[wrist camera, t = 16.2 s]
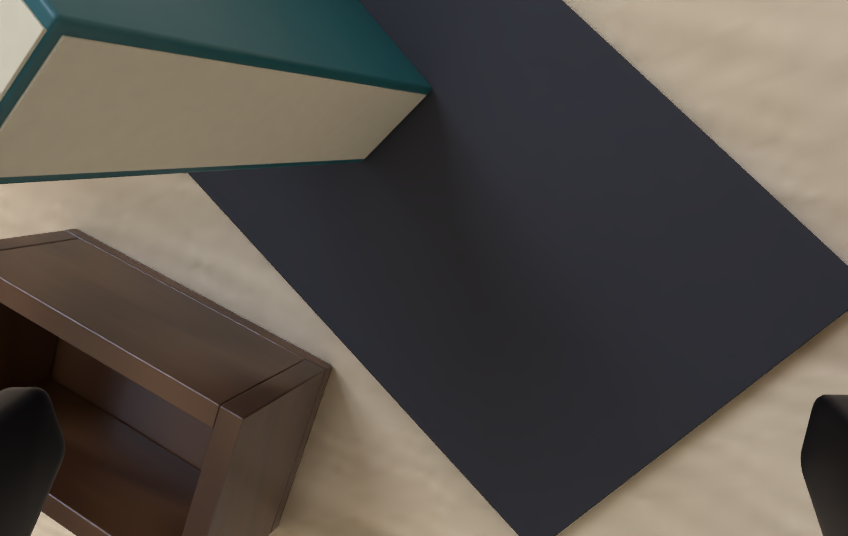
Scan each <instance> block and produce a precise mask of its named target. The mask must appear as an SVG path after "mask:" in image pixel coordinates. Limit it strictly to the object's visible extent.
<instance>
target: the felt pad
mask: <svg viewBox="0 0 848 536" xmlns="http://www.w3.org/2000/svg"><path fill="white" fill-rule="evenodd" d="M359 2H360V3H361V4H362V5H363V6H364V7H365V9H366V10H367V11H368V12H369V13H370V15H371V16H372V17H373V18H374V19H375V20H376V22H377V23H378V24H379V25H380V26H381V28H382V29H383V30H384V31H385V32H386V34H387V35H388V36H389V37H390V38H391V39H392V41H393V42H394V43H395V44H396V45H397V47H398V48H399V49H400V50H401V51H402V52H403V54H404V55H405V56H406V57H407V58H408V60H409V61H410V62H411V63H412V64H413V66H414V67H415V68H416V69H417V70H418V71H419V73H420V74H421V75H422V76H423V77H424V79H425V80H426V81H427V82H428V83H429V84H430V86H431V88H432V90H431V91H430V92H429V93H428V94H427V95H426V96H425V97H424V98H423V100H422V101H421V102H420V103H419V104H418V105H417V106H416V107H415V108H414V109H413V110H412V111H411V112H410V113H409V114H408V115H407V116H406V117H405V118H404V119H403V120H402V121H401V122H400V123H399V124H398V125H397V126H396V127H395V128H394V129H393V130H392V131H391V132H390V133H389V134H388V135H387V136H386V137H385V138H384V139H383V140H382V142H381V143H380V144H379V145H378V146H377V147H376V148H375V149H374V150H373V151H372V152H371V153H370V154H369V155H368V156H367V157H366V158H365V159H364V160H363V161H362V162H355V163H339V164H322V165H306V166H289V167H273V168H256V169H240V170H223V171H207V172H190V173H189V175H190V176H191V177H192V178H193V179H194V180H195V181H196V182H197V183H198V184H199V186H200V187H201V188H202V189H203V190H204V191H205V192H206V193H207V194H208V195H209V196H210V198H211V199H212V200H213V201H214V202H215V203H216V204H217V205H218V206H219V207H220V209H221V210H222V211H223V212H224V213H225V214H226V215H227V216H228V217H229V218H230V220H231V221H232V222H233V223H234V224H235V225H236V226H237V227H238V228H239V229H240V230H241V232H242V233H243V234H244V235H245V236H246V237H247V238H248V239H249V240H250V241H251V243H252V244H253V245H254V246H255V247H256V248H257V249H258V250H259V251H260V252H261V254H262V255H263V256H264V257H265V258H266V259H267V260H268V261H269V262H270V263H271V264H272V266H273V267H274V268H275V269H276V270H277V271H278V272H279V273H280V274H281V275H282V277H283V278H284V279H285V280H286V281H287V282H288V283H289V284H290V285H291V286H292V287H293V289H294V290H295V291H296V292H297V293H298V294H299V295H300V296H301V297H302V298H303V300H304V301H305V302H306V303H307V304H308V305H309V306H310V307H311V308H312V309H313V311H314V312H315V313H316V314H317V315H318V316H319V317H320V318H321V319H322V320H323V321H324V323H325V324H326V325H327V326H328V327H329V328H330V329H331V330H332V331H333V332H334V334H335V335H336V336H337V337H338V338H339V339H340V340H341V341H342V342H343V343H344V344H345V346H346V347H347V348H348V349H349V350H350V351H351V352H352V353H353V354H354V355H355V357H356V358H357V359H358V360H359V361H360V362H361V363H362V364H363V365H364V366H365V368H366V369H367V370H368V371H369V372H370V373H371V374H372V375H373V376H374V377H375V378H376V380H377V381H378V382H379V383H380V384H381V385H382V386H383V387H384V388H385V389H386V391H387V392H388V393H389V394H390V395H391V396H392V397H393V398H394V399H395V400H396V401H397V403H398V404H399V405H400V406H401V407H402V408H403V409H404V410H405V411H406V412H407V414H408V415H409V416H410V417H411V418H412V419H413V420H414V421H415V422H416V423H417V425H418V426H419V427H420V428H421V429H422V430H423V431H424V432H425V433H426V434H427V435H428V437H429V438H430V439H431V440H432V441H433V442H434V443H435V444H436V445H437V446H438V448H439V449H440V450H441V451H442V452H443V453H444V454H445V455H446V456H447V457H448V458H449V460H450V461H451V462H452V463H453V464H454V465H455V466H456V467H457V468H458V469H459V471H460V472H461V473H462V474H463V475H464V476H465V477H466V478H467V479H468V480H469V482H470V483H471V484H472V485H473V486H474V487H475V488H476V489H477V490H478V491H479V492H480V494H481V495H482V496H483V497H484V498H485V499H486V500H487V501H488V502H489V503H490V505H491V506H492V507H493V508H494V509H495V510H496V511H497V512H498V513H499V514H500V515H501V517H502V518H503V519H504V520H505V521H506V522H507V523H508V524H509V525H510V526H511V528H512V529H513V530H514V531H515V532H516V533H517V534H518V535H519V536H556V535H557V534H558V533H560V532H561V531H562V530H563V529H565V528H566V527H567V526H569V525H570V524H571V523H573V522H574V521H575V520H576V519H578V518H579V517H580V516H582V515H583V514H584V513H586V512H587V511H588V510H589V509H591V508H592V507H593V506H595V505H596V504H597V503H598V502H600V501H601V500H602V499H604V498H605V497H606V496H608V495H609V494H610V493H611V492H613V491H614V490H615V489H617V488H618V487H619V486H621V485H622V484H623V483H624V482H626V481H627V480H628V479H630V478H631V477H632V476H633V475H635V474H636V473H637V472H639V471H640V470H641V469H643V468H644V467H645V466H646V465H648V464H649V463H650V462H652V461H653V460H654V459H656V458H657V457H658V456H659V455H661V454H662V453H663V452H665V451H666V450H667V449H669V448H670V447H671V446H672V445H674V444H675V443H676V442H678V441H679V440H680V439H681V438H683V437H684V436H685V435H687V434H688V433H689V432H691V431H692V430H693V429H694V428H696V427H697V426H698V425H700V424H701V423H702V422H704V421H705V420H706V419H707V418H709V417H710V416H711V415H713V414H714V413H715V412H716V411H718V410H719V409H720V408H722V407H723V406H724V405H726V404H727V403H728V402H729V401H731V400H732V399H733V398H735V397H736V396H737V395H739V394H740V393H741V392H742V391H744V390H745V389H746V388H748V387H749V386H750V385H752V384H753V383H754V382H755V381H757V380H758V379H759V378H761V377H762V376H763V375H764V374H766V373H767V372H768V371H770V370H771V369H772V368H774V367H775V366H776V365H777V364H779V363H780V362H781V361H783V360H784V359H785V358H787V357H788V356H789V355H790V354H792V353H793V352H794V351H796V350H797V349H798V348H800V347H801V346H802V345H803V344H805V343H806V342H807V341H809V340H810V339H811V338H812V337H814V336H815V335H816V334H818V333H819V332H820V331H822V330H823V329H824V328H825V327H827V326H828V325H829V324H831V323H832V322H833V321H835V320H836V319H837V318H838V317H840V316H841V315H842V314H844V313H845V312H846V311H847V310H848V266H847V265H846V264H845V263H844V262H843V261H842V260H841V259H840V258H839V257H838V256H836V255H835V254H834V253H833V252H832V251H831V250H830V249H829V248H828V247H827V246H826V245H825V244H824V243H822V242H821V241H820V240H819V239H818V238H817V237H816V236H815V235H814V234H813V233H812V232H811V231H810V230H808V229H807V228H806V227H805V226H804V225H803V224H802V223H801V222H800V221H799V220H798V219H797V218H796V217H794V216H793V215H792V214H791V213H790V212H789V211H788V210H787V209H786V208H785V207H784V206H783V205H782V204H781V203H779V202H778V201H777V200H776V199H775V198H774V197H773V196H772V195H771V194H770V193H769V192H768V191H767V190H765V189H764V188H763V187H762V186H761V185H760V184H759V183H758V182H757V181H756V180H755V179H754V178H753V177H751V176H750V175H749V174H748V173H747V172H746V171H745V170H744V169H743V168H742V167H741V166H740V165H739V164H737V163H736V162H735V161H734V160H733V159H732V158H731V157H730V156H729V155H728V154H727V153H726V152H725V151H724V150H722V149H721V148H720V147H719V146H718V145H717V144H716V143H715V142H714V141H713V140H712V139H711V138H710V137H708V136H707V135H706V134H705V133H704V132H703V131H702V130H701V129H700V128H699V127H698V126H697V125H696V124H694V123H693V122H692V121H691V120H690V119H689V118H688V117H687V116H686V115H685V114H684V113H683V112H682V111H680V110H679V109H678V108H677V107H676V106H675V105H674V104H673V103H672V102H671V101H670V100H669V99H668V98H667V97H665V96H664V95H663V94H662V93H661V92H660V91H659V90H658V89H657V88H656V87H655V86H654V85H653V84H651V83H650V82H649V81H648V80H647V79H646V78H645V77H644V76H643V75H642V74H641V73H640V72H639V71H637V70H636V69H635V68H634V67H633V66H632V65H631V64H630V63H629V62H628V61H627V60H626V59H625V58H623V57H622V56H621V55H620V54H619V53H618V52H617V51H616V50H615V49H614V48H613V47H612V46H611V45H610V44H608V43H607V42H606V41H605V40H604V39H603V38H602V37H601V36H600V35H599V34H598V33H597V32H596V31H594V30H593V29H592V28H591V27H590V26H589V25H588V24H587V23H586V22H585V21H584V20H583V19H582V18H580V17H579V16H578V15H577V14H576V13H575V12H574V11H573V10H572V9H571V8H570V7H569V6H568V5H567V4H565V3H564V2H563V1H562V0H359Z"/></svg>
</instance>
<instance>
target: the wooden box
mask: <svg viewBox="0 0 848 536" xmlns="http://www.w3.org/2000/svg"><path fill="white" fill-rule="evenodd" d="M331 368H332V366H331V365H330V364H328V363H326V362H324V361H322V360H320V359H318V358H317V357H315V356H313V355H311V354H309V353H307V352H305V351H303V350H302V349H300V348H298V347H296V346H294V345H292V344H290V343H288V342H287V341H285V340H283V339H281V338H279V337H277V336H275V335H274V334H272V333H270V332H268V331H266V330H264V329H262V328H260V327H259V326H257V325H255V324H253V323H251V322H249V321H247V320H245V319H244V318H242V317H240V316H238V315H236V314H234V313H232V312H231V311H229V310H227V309H225V308H223V307H221V306H219V305H217V304H216V303H214V302H212V301H210V300H208V299H206V298H204V297H202V296H201V295H199V294H197V293H195V292H193V291H191V290H189V289H187V288H186V287H184V286H182V285H180V284H178V283H176V282H174V281H173V280H171V279H169V278H167V277H165V276H163V275H161V274H159V273H158V272H156V271H154V270H152V269H150V268H148V267H146V266H144V265H143V264H141V263H139V262H137V261H135V260H133V259H131V258H130V257H128V256H126V255H124V254H122V253H120V252H118V251H116V250H115V249H113V248H111V247H109V246H107V245H105V244H103V243H101V242H100V241H98V240H96V239H94V238H92V237H90V236H88V235H86V234H85V233H83V232H81V231H79V230H77V229H69V230H65V231H57V232H50V233H43V234H35V235H28V236H21V237H14V238H7V239H0V391H2V390H4V389H6V388H11V387H37V388H41V389H43V390H45V391H46V392H47V394H48V395H49V397H50V399H51V402H52V405H53V408H54V411H55V413H56V416H57V419H58V422H59V425H60V428H61V431H62V434H63V436H64V440H65V454H64V458H63V461H62V464H61V466H60V469H59V471H58V473H57V475H56V478H55V480H54V482H53V485H52V487H51V489H50V492H49V494H48V496H47V499H46V501H45V503H44V506H43V508H42V510H41V511H42V512H43V513H45V514H46V515H47V516H49V517H50V518H52V519H53V520H55V521H56V522H58V523H59V524H60V525H62V526H63V527H65V528H66V529H68V530H69V531H71V532H72V533H73V534H75V535H76V536H268V535H269V534H270V533H271V532H272V531H274V530H275V529H276V528H277V526H278V523H279V520H280V517H281V514H282V511H283V508H284V506H285V503H286V500H287V497H288V494H289V491H290V488H291V485H292V482H293V479H294V476H295V473H296V470H297V467H298V465H299V462H300V459H301V456H302V453H303V450H304V447H305V444H306V441H307V438H308V435H309V432H310V429H311V426H312V424H313V421H314V418H315V415H316V412H317V409H318V406H319V403H320V400H321V397H322V394H323V391H324V388H325V386H326V383H327V380H328V377H329V374H330V371H331Z"/></svg>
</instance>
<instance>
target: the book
mask: <svg viewBox="0 0 848 536" xmlns="http://www.w3.org/2000/svg"><path fill="white" fill-rule="evenodd" d="M431 90H432V88H431V86H430V84H429V83H428V82H427V81H426V80H425V79H424V77H423V76H422V75H421V74H420V73H419V71H418V70H417V69H416V68H415V67H414V66H413V64H412V63H411V62H410V61H409V60H408V58H407V57H406V56H405V55H404V54H403V52H402V51H401V50H400V49H399V48H398V47H397V45H396V44H395V43H394V42H393V41H392V39H391V38H390V37H389V36H388V35H387V34H386V32H385V31H384V30H383V29H382V28H381V26H380V25H379V24H378V23H377V22H376V20H375V19H374V18H373V17H372V16H371V15H370V13H369V12H368V11H367V10H366V9H365V7H364V6H363V5H362V4H361V3H360V2H359V0H0V184H8V183H25V182H41V181H58V180H74V179H91V178H107V177H124V176H140V175H157V174H174V173H190V172H207V171H223V170H240V169H256V168H273V167H289V166H306V165H322V164H339V163H355V162H362V161H363V160H364V159H365V158H366V157H367V156H368V155H369V154H370V153H371V152H372V151H373V150H374V149H375V148H376V147H377V146H378V145H379V144H380V143H381V142H382V140H383V139H384V138H385V137H386V136H387V135H388V134H389V133H390V132H391V131H392V130H393V129H394V128H395V127H396V126H397V125H398V124H399V123H400V122H401V121H402V120H403V119H404V118H405V117H406V116H407V115H408V114H409V113H410V112H411V111H412V110H413V109H414V108H415V107H416V106H417V105H418V104H419V103H420V102H421V101H422V100H423V98H424V97H425V96H426V95H427V94H428V93H429V92H430V91H431Z"/></svg>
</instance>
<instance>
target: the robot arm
mask: <svg viewBox="0 0 848 536" xmlns="http://www.w3.org/2000/svg"><path fill="white" fill-rule="evenodd" d="M64 454H65V440H64V436H63V434H62V431H61V428H60V425H59V422H58V419H57V416H56V413H55V411H54V408H53V405H52V402H51V399H50V397H49V395H48V394H47V392H46V391H45V390H43V389H41V388H37V387H11V388H6V389H4V390H2V391H0V536H31V533H32V531H33V529H34V526H35V524H36V522H37V519H38V517H39V515H40V512H41V510H42V508H43V506H44V503H45V501H46V499H47V496H48V494H49V492H50V489H51V487H52V485H53V482H54V480H55V478H56V475H57V473H58V471H59V469H60V466H61V464H62V461H63V458H64ZM801 467H802V472H803V476H804V479H805V482H806V485H807V488H808V491H809V494H810V497H811V500H812V503H813V506H814V509H815V512H816V516H817V519H818V522H819V525H820V528H821V531H822V534H823V536H848V395H822V396H820V397H819V398H817V399H816V401H815V402H814V405H813V407H812V411H811V415H810V419H809V423H808V427H807V431H806V435H805V439H804V443H803V447H802V451H801Z"/></svg>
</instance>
